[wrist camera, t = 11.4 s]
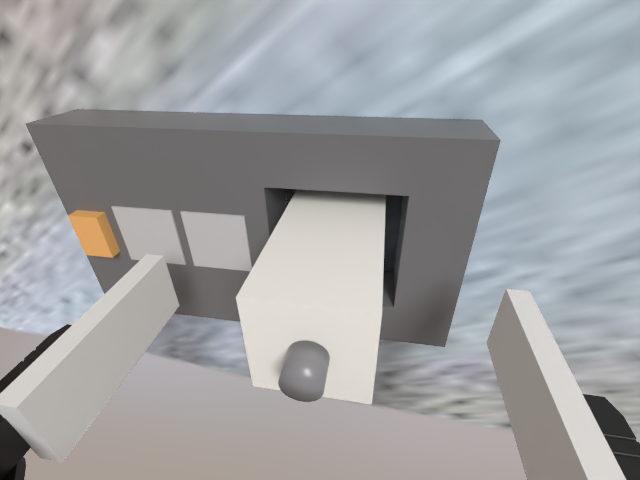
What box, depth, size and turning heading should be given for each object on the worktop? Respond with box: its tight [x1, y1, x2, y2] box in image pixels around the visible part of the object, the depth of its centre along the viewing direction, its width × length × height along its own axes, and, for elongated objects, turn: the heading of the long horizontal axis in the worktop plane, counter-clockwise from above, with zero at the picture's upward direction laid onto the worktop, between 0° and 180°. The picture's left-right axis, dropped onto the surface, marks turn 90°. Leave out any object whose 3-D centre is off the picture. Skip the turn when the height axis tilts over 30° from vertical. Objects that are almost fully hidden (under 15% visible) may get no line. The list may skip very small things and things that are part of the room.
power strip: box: [26, 109, 500, 347], centre depth 18 cm, size 20×11×4 cm, turn 91°
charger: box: [236, 189, 386, 405], centre depth 14 cm, size 4×4×10 cm
